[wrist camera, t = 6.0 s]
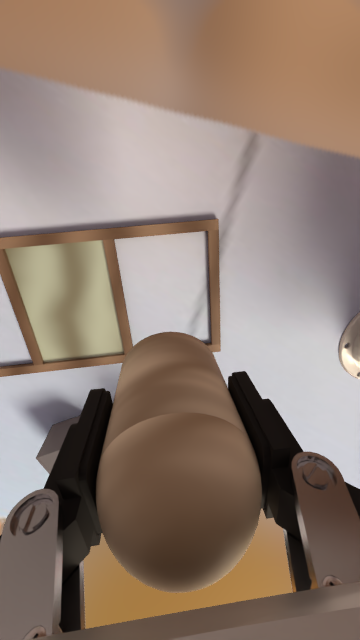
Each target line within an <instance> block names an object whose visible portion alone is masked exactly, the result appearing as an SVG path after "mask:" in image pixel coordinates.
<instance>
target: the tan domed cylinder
mask: <svg viewBox="0 0 360 640" xmlns="http://www.w3.org/2000/svg"><path fill="white" fill-rule="evenodd" d="M261 501H262V483H261V474H260V469H259V464H258V460H257V456H256V454H255V451H254V448H253V446H252V443H251V441H250V439H249V436H248V434H247V432H246V430H245V427H244V425H243V423H242V420H241V418H240V416H239V413H238V411H237V409H236V406H235V404H234V402H233V399H232V397H231V395H230V392H229V390H228V388H227V385H226V383H225V381H224V378H223V376H222V374H221V371H220V369H219V367H218V364H217V362H216V360H215V358H214V355H213V353H212V352H211V350H210V349H209V348H208V347H207V345H205V344H204V343H203V342H202V341H200V340H199V339H197V338H195V337H193V336H191V335H188V334H185V333H179V332H163V333H158V334H154V335H151V336H149V337H147V338H145V339H143V340H141V341H140V342H138V343H137V344H136V345H135V346H134V347H133V348H132V349H131V350H130V351H129V352H128V354H127V355H126V357H125V359H124V361H123V364H122V368H121V372H120V376H119V380H118V385H117V389H116V393H115V398H114V402H113V406H112V410H111V415H110V419H109V423H108V427H107V432H106V436H105V440H104V445H103V449H102V453H101V457H100V462H99V467H98V472H97V478H96V507H97V514H98V518H99V522H100V526H101V530H102V533H103V535H104V537H105V539H106V542H107V544H108V546H109V548H110V550H111V551H112V553H113V555H114V556H115V558H116V559H117V560H118V562H119V563H120V564H121V565H122V566H123V567H124V568H125V570H126V571H127V572H129V573H130V574H131V575H132V576H133V577H135V578H136V579H138V580H139V581H141V582H142V583H144V584H145V585H147V586H150V587H152V588H155V589H158V590H161V591H165V592H172V593H183V592H191V591H196V590H199V589H202V588H205V587H208V586H210V585H212V584H213V583H215V582H217V581H218V580H219V579H221V578H222V577H224V576H225V575H226V574H227V573H229V572H230V571H231V570H232V569H233V568H234V566H235V565H236V564H237V563H238V562H239V561H240V559H241V558H242V557H243V555H244V554H245V552H246V550H247V548H248V547H249V545H250V543H251V541H252V538H253V536H254V533H255V530H256V528H257V525H258V520H259V515H260V510H261Z"/></svg>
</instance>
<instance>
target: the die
mask: <svg viewBox="0 0 360 640" xmlns="http://www.w3.org/2000/svg"><path fill="white" fill-rule="evenodd" d="M80 416H81V415H80ZM80 416H77V417H74V418H71V419H68V420H66V421H63V422H60V423H57V424H54V425H53V426H52V427H51V429H50V431H49V433H48V435H47V437H46V439H45V441H44V443H43V445H42V447H41V449H40V451H39V453H38V455H37V457H36V459H37V460H38V461H39V462H40V464H41V465H42V466H43V467H44V468H45V469H46V470H47V472H48V473H49V474H50V472H51V470H52V468H53V465H54V463H55V460H56V458H57V456H58V453H59V451H60V449H61V446H62V444H63V441H64V439H65V437H66V434H67V432H68V429H69V427H70V426H71V425H72V424H74V423H78V421H79V418H80Z"/></svg>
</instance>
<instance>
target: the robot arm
mask: <svg viewBox="0 0 360 640" xmlns="http://www.w3.org/2000/svg"><path fill="white" fill-rule="evenodd" d="M346 343H348V346H346V347H344V346H345V344H346ZM339 360H340V363H341V365H342V367H343V368H344V370H345V371H346V372H347V373H349V374H350V375H351V376H353V377H355V378H357V379H360V374H358V375H357V373H358V372H360V312H359V313H358V314H357V315H356V316H355V317H354V318H353V319H352V321H351V322H350V323H349V325H348V326H347V328H346V329H345V331H344V333H343V335H342V338H341V341H340V344H339ZM228 390H229V392H230V395H231V397H232V399H233V402H234V404H235V406H236V409H237V411H238V413H239V416H240V418H241V420H242V423H243V425H244V427H245V430H246V432H247V434H248V436H249V439H250V441H251V443H252V446H253V448H254V451H255V454H256V456H257V460H258V464H259V469H260V474H261V483H262V501H261V508H263V510H264V513H265V516H266V518H273V517H274V520H275V522H276V524H278V525H279V526H281V527H282V528H283V532H284V538H285V545H286V552H287V558H288V565H289V571H290V578H291V584H292V591H293V593H288V594H282V595H276V596H270V597H264V598H258V599H253V600H246V601H241V602H235V603H229V604H224V605H218V606H212V607H206V608H200V609H195V610H189V611H183V612H178V613H172V614H167V615H161V616H155V617H150V618H144V619H138V620H133V621H127V622H122V623H116V624H111V625H105V626H100V627H94V628H89V629H85V602H84V601H85V599H84V567H83V560H84V558H85V557H86V556H87V555H88V554H89V552H90V547H91V546H95V545H99V543H100V538H101V533H102V530H101V526H100V522H99V518H98V514H97V507H96V478H97V472H98V467H99V462H100V457H101V453H102V449H103V445H104V440H105V436H106V432H107V427H108V423H109V419H110V415H111V410H112V406H113V403H112V399H111V394H110V392H109V391H106V390H105V389H104V388H102V389H93V390H90V392H89V395H88V398H87V400H86V403H85V405H84V408H83V411H82V413H81V416H80V418H79V421H78V423H74V424H72V425H71V426H70V427H69V429H68V432H67V434H66V437H65V439H64V441H63V444H62V446H61V449H60V451H59V453H58V456H57V458H56V460H55V463H54V465H53V468H52V470H51V472H50V475H49V477H48V480H47V482H46V484H45V487H44V489H40V490H37V491H34V492H32V493H30V494H28V495H27V496H26V497H24V498H23V499H22V500H20V501H19V502H18V503H17V505H16V506H15V507H14V508H13V509H12V510H11V512H10V514H9V515H8V517H7V519H6V522H5V524H4V528H3V532H2V535H1V536H0V640H360V489H358V488H356V487H354V486H352V485H350V484H348V483H346V482H344V479H343V477H342V475H341V473H340V471H339V469H338V468H337V467H336V466H335V465H334V464H333V463H332V462H331V461H330V460H328V459H327V458H326V457H324V456H322V455H320V454H317V453H313V452H303V450H302V449H301V447H300V445H299V444H298V442H297V441H296V439H295V438H294V436H293V435H292V433H291V431H290V430H289V428H288V427H287V425H286V424H285V422H284V420H283V419H282V417H281V416H280V414H279V413H278V411H277V410H276V408H275V406H274V405H273V403H272V402H271V401H270V400H269V399H262V398H261V396H260V395H259V393H258V391H257V390H256V388H255V386H254V385H253V383H252V381H251V380H250V378H249V376H248V375H247V373H246V372H245V371H242V372H234V373H232V376H229V377H228Z"/></svg>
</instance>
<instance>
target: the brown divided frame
mask: <svg viewBox="0 0 360 640" xmlns="http://www.w3.org/2000/svg"><path fill="white" fill-rule="evenodd" d="M199 231H208V259H209V290H210V320H211V343H205V345H207V347H208V348H209V349H210V350H211V352H219V351H221V349H220V287H219V225H218V219H212V220H200V221H189V222H177V223H166V224H154V225H143V226H131V227H119V228H108V229H96V230H85V231H73V232H61V233H50V234H38V235H27V236H15V237H3V238H0V274H1V277H2V280H3V283H4V285H5V288H6V291H7V293H8V296H9V299H10V302H11V304H12V307H13V310H14V312H15V315H16V318H17V321H18V323H19V326H20V329H21V331H22V334H23V337H24V340H25V342H26V345H27V348H28V350H29V353H30V356H31V359H32V361H33V363H29V364H20V365H11V366H3V367H0V377H3V376H12V375H21V374H29V373H38V372H47V371H55V370H64V369H72V368H81V367H90V366H98V365H107V364H116V363H123V361H124V359H125V357H126V355H127V354H128V352H129V351H130V350H131V349H132V348H133V344H132V338H131V333H130V327H129V321H128V316H127V310H126V304H125V299H124V293H123V287H122V281H121V276H120V270H119V264H118V259H117V253H116V247H115V242H114V239H121V238H132V237H143V236H154V235H166V234H177V233H188V232H199Z"/></svg>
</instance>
